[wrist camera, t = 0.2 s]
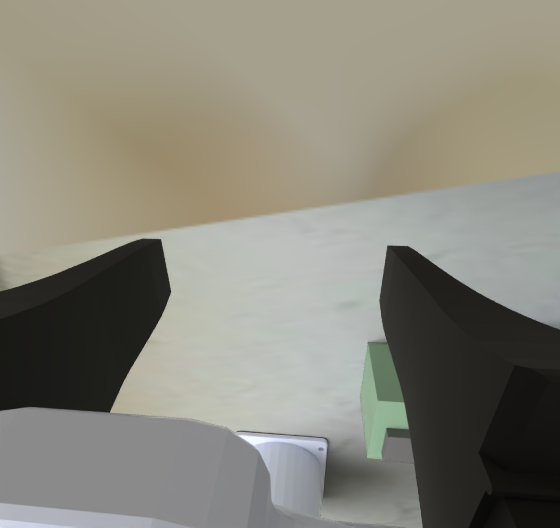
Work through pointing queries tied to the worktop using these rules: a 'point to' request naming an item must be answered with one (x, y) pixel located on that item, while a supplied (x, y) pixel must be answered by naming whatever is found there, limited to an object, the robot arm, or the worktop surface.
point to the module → (384, 408)
